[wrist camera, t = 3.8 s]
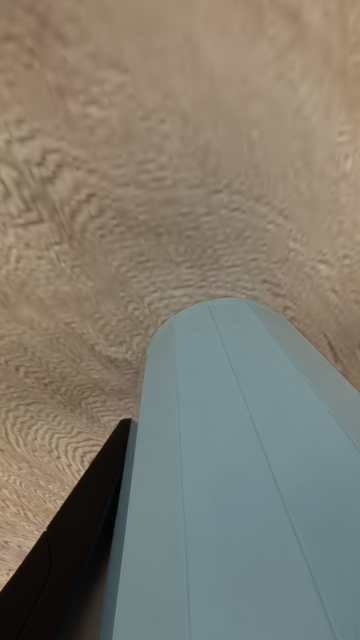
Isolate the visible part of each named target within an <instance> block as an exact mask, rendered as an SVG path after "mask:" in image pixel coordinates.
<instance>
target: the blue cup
mask: <svg viewBox="0 0 360 640" xmlns="http://www.w3.org/2000/svg"><path fill="white" fill-rule="evenodd" d="M97 640H360V392H359V391H358V390H357V389H356V388H355V387H354V386H353V385H352V384H351V383H350V382H349V381H348V380H347V379H346V378H345V377H344V376H343V375H342V374H341V373H340V372H339V371H338V370H337V369H336V368H335V366H334V365H333V364H332V363H331V362H330V361H329V360H328V359H327V358H326V357H325V356H324V355H323V354H322V353H321V352H320V351H319V350H318V349H317V348H316V347H315V346H314V345H313V344H312V343H311V342H310V341H309V340H308V339H307V338H306V337H305V336H304V335H303V334H302V333H301V332H300V331H299V330H298V329H297V328H296V327H295V326H294V325H293V324H292V323H291V322H290V321H289V320H288V319H287V318H286V317H285V316H284V315H282V314H281V313H280V312H279V311H277V310H275V309H274V308H272V307H270V306H268V305H266V304H263V303H261V302H258V301H254V300H250V299H244V298H218V299H211V300H207V301H203V302H199V303H197V304H194V305H192V306H189V307H187V308H185V309H183V310H181V311H179V312H178V313H176V314H175V315H173V316H172V317H171V318H169V319H168V320H167V321H166V322H165V323H163V324H162V325H161V326H160V327H159V329H158V330H157V331H156V332H155V333H154V334H153V336H152V338H151V339H150V341H149V342H148V344H147V347H146V349H145V351H144V355H143V359H142V364H141V368H140V371H139V374H138V380H137V387H136V393H135V399H134V406H133V412H132V419H131V425H130V432H129V438H128V444H127V451H126V457H125V464H124V470H123V476H122V483H121V489H120V496H119V502H118V509H117V515H116V521H115V528H114V534H113V541H112V547H111V554H110V560H109V566H108V573H107V579H106V586H105V592H104V598H103V605H102V611H101V618H100V624H99V631H98V637H97Z"/></svg>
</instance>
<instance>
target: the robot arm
mask: <svg viewBox="0 0 360 640" xmlns="http://www.w3.org/2000/svg"><path fill="white" fill-rule="evenodd" d="M131 419H132V418H128V419H122V420H121V421H120V422H119V424H118V425H117V426H116V428H115V429H114V431H113V432H112V434H111V435H110V437H109V438H108V440H107V441H106V442H105V444H104V445H103V447H102V448H101V450H100V451H99V453H98V454H97V455H96V457H95V458H94V460H93V461H92V463H91V464H90V466H89V467H88V469H87V470H86V471H85V473H84V474H83V476H82V477H81V479H80V480H79V482H78V483H77V484H76V486H75V487H74V489H73V490H72V492H71V493H70V495H69V496H68V497H67V499H66V500H65V502H64V503H63V505H62V506H61V508H60V509H59V511H58V512H57V513H56V515H55V516H54V518H53V519H52V521H51V522H50V524H49V525H48V526H47V528H46V530H47V531H44V532H43V533H42V535H41V536H40V538H39V539H38V541H37V542H36V544H35V545H34V547H33V548H32V549H31V551H30V552H29V554H28V555H27V556H26V558H25V559H24V561H23V562H22V563H21V565H20V566H19V567H18V569H17V570H16V572H15V573H14V574H13V576H12V577H11V578H10V580H9V581H8V582H7V583H6V585H5V586H4V587H3V589H2V590H1V591H0V640H97V637H98V631H99V624H100V618H101V611H102V605H103V598H104V592H105V586H106V579H107V573H108V566H109V560H110V554H111V547H112V541H113V534H114V528H115V521H116V515H117V509H118V502H119V496H120V489H121V483H122V476H123V470H124V464H125V457H126V451H127V444H128V438H129V432H130V425H131Z"/></svg>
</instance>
